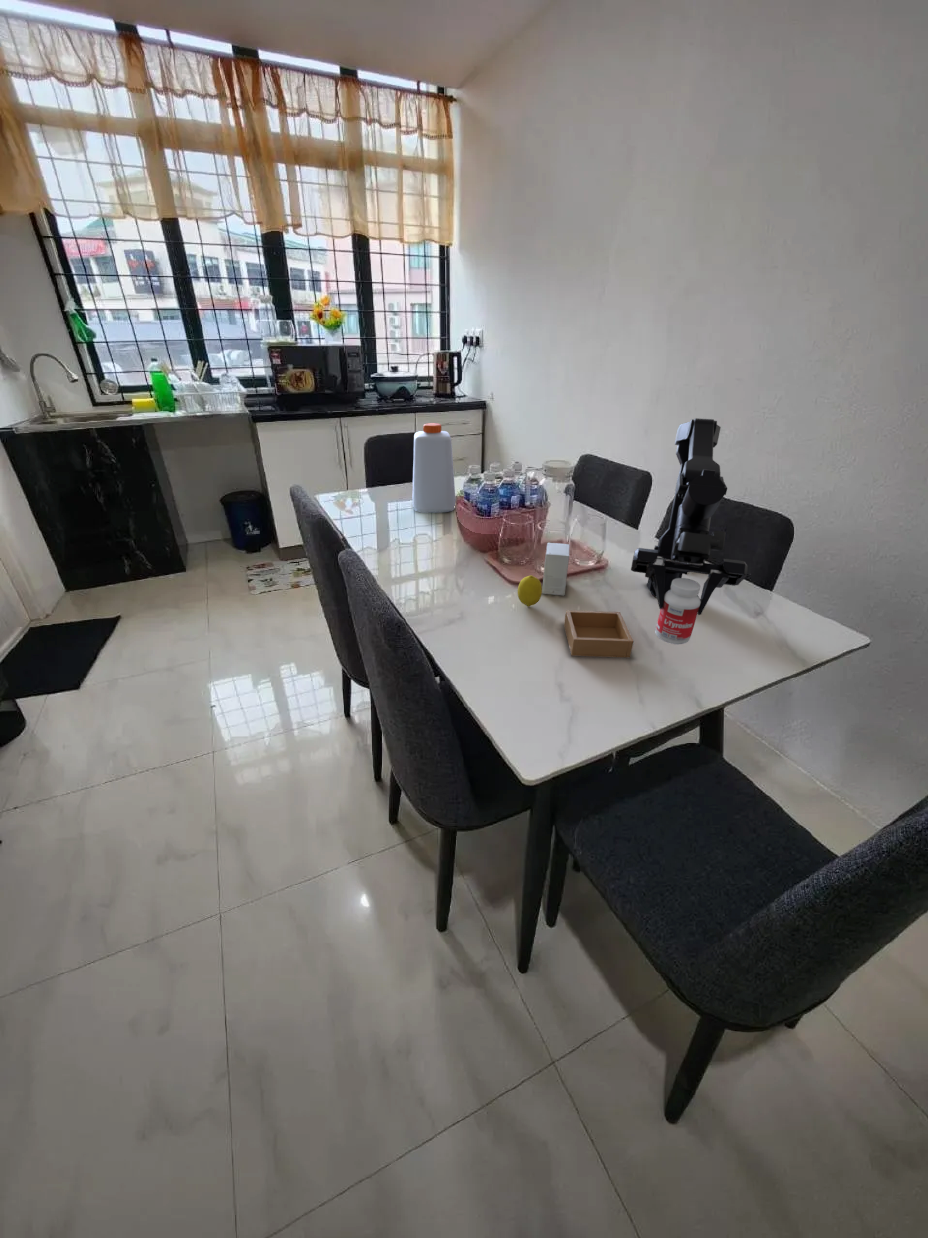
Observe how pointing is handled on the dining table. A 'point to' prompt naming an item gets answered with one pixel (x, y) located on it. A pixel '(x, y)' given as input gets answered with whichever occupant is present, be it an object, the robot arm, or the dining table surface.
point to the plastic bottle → (433, 470)
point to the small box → (556, 568)
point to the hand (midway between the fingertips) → (679, 611)
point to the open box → (597, 634)
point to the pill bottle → (679, 611)
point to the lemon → (529, 590)
